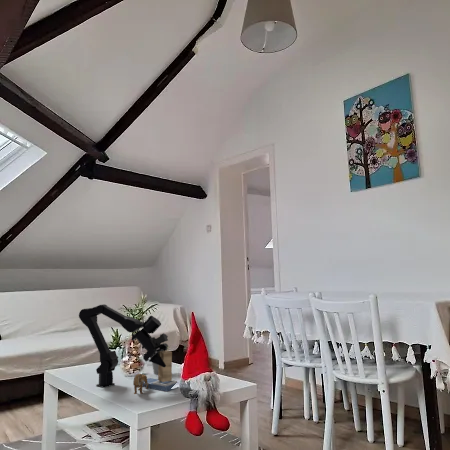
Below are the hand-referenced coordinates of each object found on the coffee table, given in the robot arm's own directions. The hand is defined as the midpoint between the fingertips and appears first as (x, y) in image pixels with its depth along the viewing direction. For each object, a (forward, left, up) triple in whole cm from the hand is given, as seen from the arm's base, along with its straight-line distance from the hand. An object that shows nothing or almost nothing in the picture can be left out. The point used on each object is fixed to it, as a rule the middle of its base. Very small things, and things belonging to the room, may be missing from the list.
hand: (167, 365), depth 189 cm
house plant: (-24, +20, -10) cm, 33 cm away
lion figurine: (-6, -11, -11) cm, 16 cm away
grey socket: (-1, -1, -8) cm, 8 cm away
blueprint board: (-6, -1, -10) cm, 12 cm away
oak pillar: (-1, -1, -7) cm, 7 cm away
